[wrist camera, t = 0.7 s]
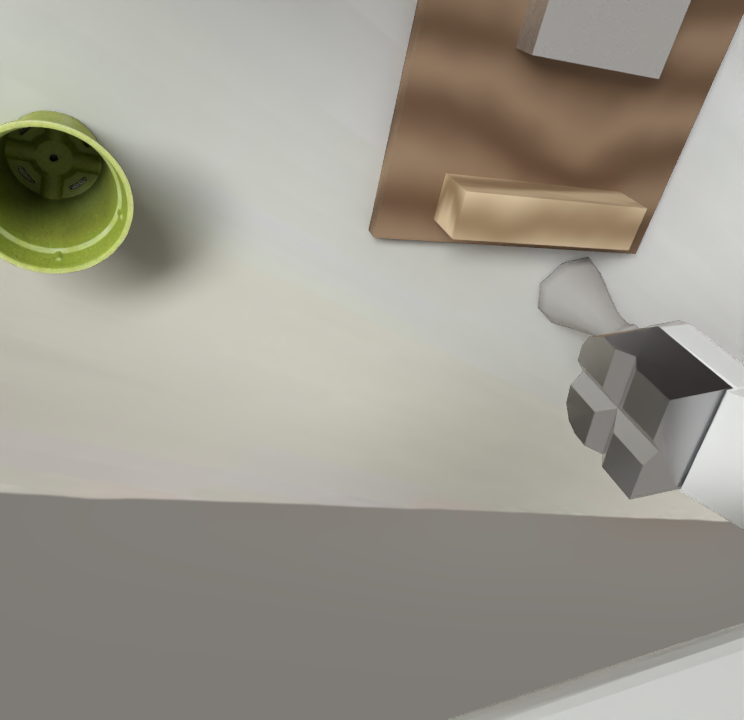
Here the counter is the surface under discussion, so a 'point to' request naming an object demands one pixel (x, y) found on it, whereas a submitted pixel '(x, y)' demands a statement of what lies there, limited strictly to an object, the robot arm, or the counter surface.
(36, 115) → the plant pot
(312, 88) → the counter surface
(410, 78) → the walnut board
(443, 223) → the bar
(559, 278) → the flask
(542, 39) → the aluminium plate
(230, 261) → the counter surface
